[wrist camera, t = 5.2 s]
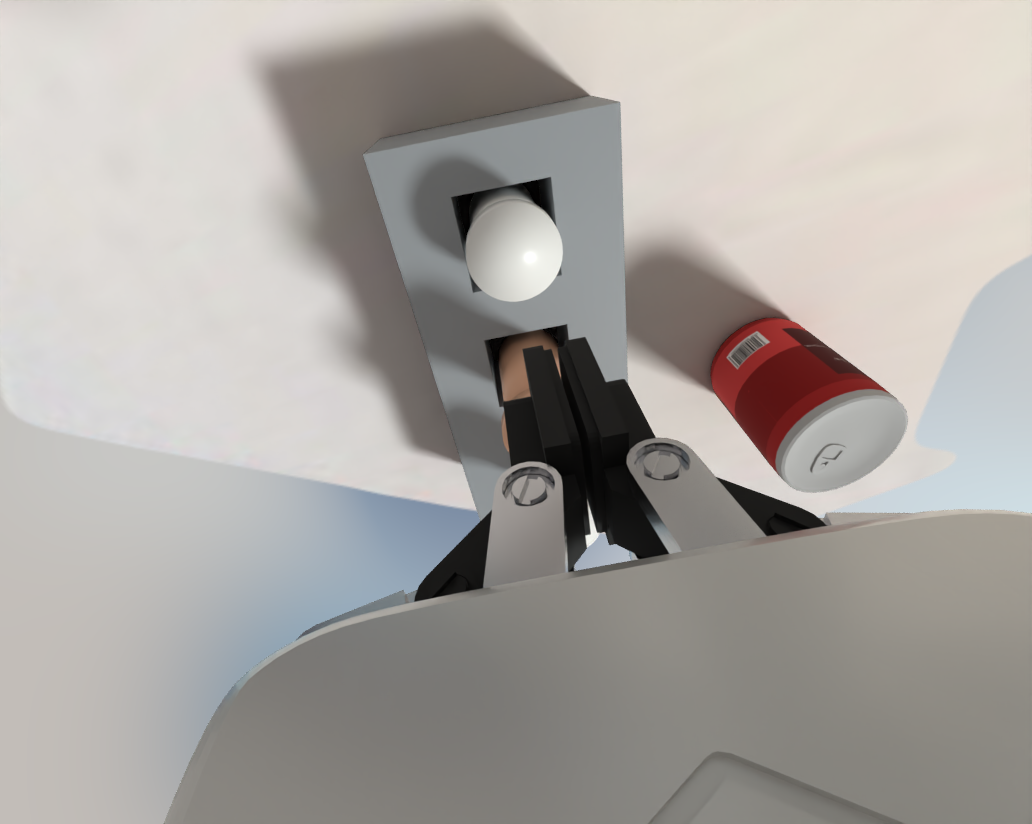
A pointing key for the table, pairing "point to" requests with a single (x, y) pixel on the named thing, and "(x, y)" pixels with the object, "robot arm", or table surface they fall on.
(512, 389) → the plug terracotta
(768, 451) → the canned food
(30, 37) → the table surface
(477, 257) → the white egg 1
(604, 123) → the socket board
